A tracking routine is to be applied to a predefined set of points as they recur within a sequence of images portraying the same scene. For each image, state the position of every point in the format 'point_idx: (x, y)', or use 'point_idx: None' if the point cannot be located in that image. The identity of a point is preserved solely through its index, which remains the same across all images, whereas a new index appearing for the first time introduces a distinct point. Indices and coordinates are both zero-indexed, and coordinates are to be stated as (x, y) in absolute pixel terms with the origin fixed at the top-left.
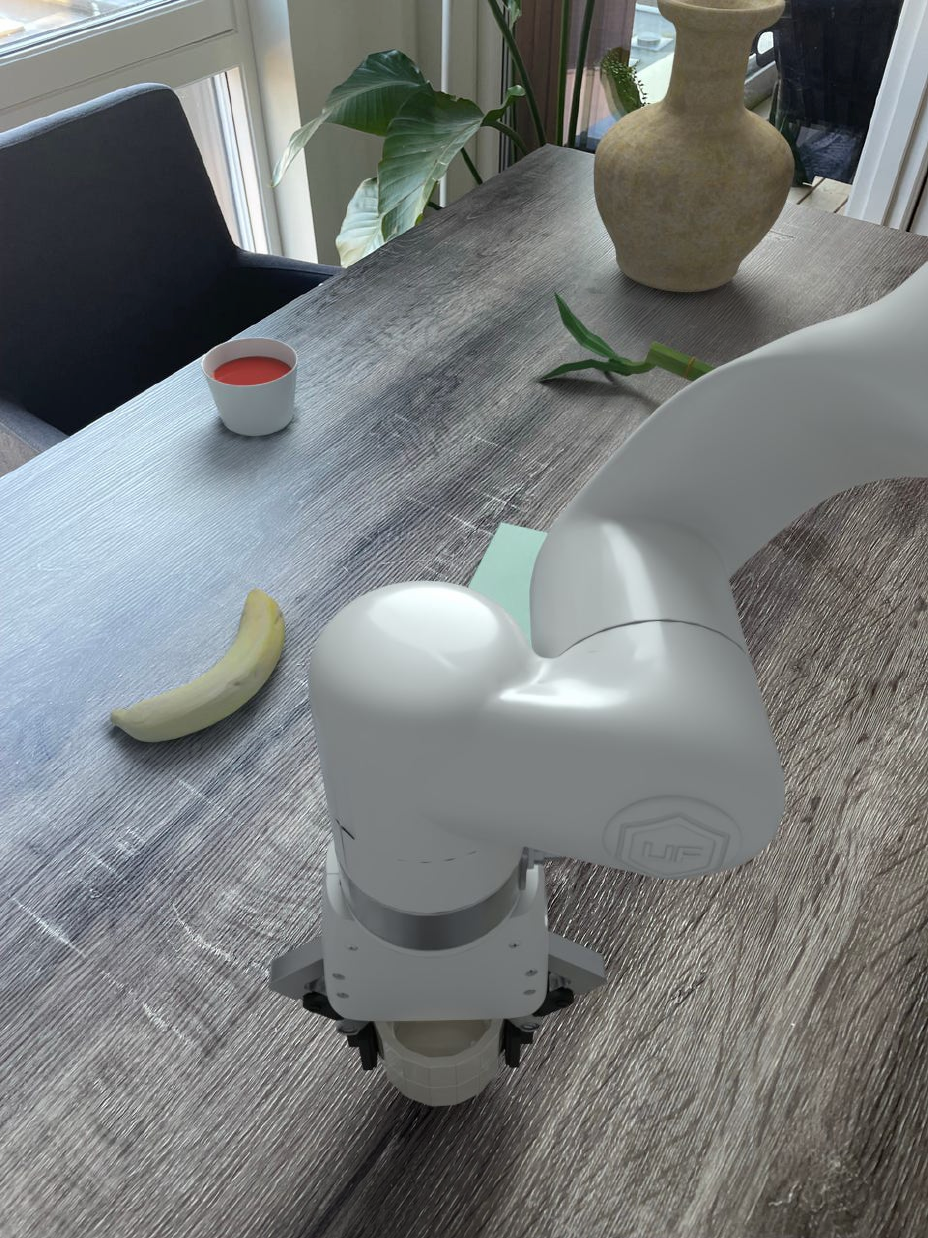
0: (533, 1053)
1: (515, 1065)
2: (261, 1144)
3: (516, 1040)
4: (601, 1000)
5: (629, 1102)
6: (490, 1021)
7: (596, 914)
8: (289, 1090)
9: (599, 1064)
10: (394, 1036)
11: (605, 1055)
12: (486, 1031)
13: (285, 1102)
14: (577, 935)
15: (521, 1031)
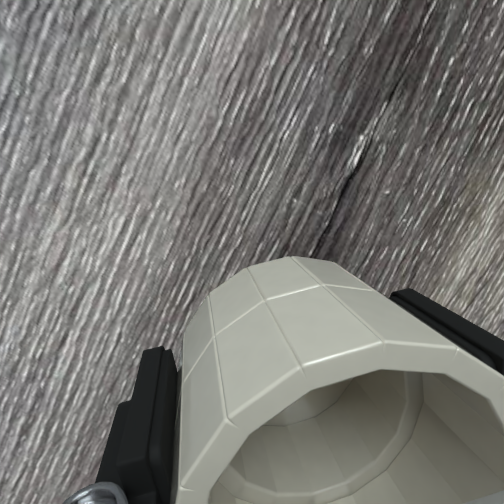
0: (389, 288)
1: None
2: (48, 482)
3: None
4: (480, 196)
5: (493, 318)
6: (413, 392)
7: (492, 41)
8: (57, 416)
9: (467, 283)
10: (228, 467)
11: (475, 270)
12: (404, 409)
13: (58, 431)
14: (459, 89)
15: None
